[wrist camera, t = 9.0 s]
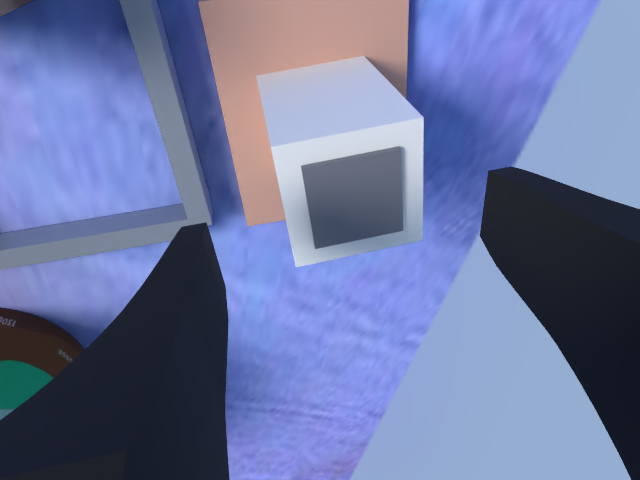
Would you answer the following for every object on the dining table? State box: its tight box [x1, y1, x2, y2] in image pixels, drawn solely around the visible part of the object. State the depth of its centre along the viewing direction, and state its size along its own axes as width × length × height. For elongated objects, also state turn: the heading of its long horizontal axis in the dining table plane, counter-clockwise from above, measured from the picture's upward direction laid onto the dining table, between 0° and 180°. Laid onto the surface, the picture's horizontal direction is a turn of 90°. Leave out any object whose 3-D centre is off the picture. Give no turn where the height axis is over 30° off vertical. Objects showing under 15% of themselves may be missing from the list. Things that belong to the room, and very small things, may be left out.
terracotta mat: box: [198, 0, 409, 226], centre depth 20 cm, size 8×10×1 cm
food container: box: [0, 308, 84, 420], centre depth 22 cm, size 12×6×10 cm, turn 6°
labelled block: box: [256, 56, 424, 267], centre depth 17 cm, size 4×4×7 cm
